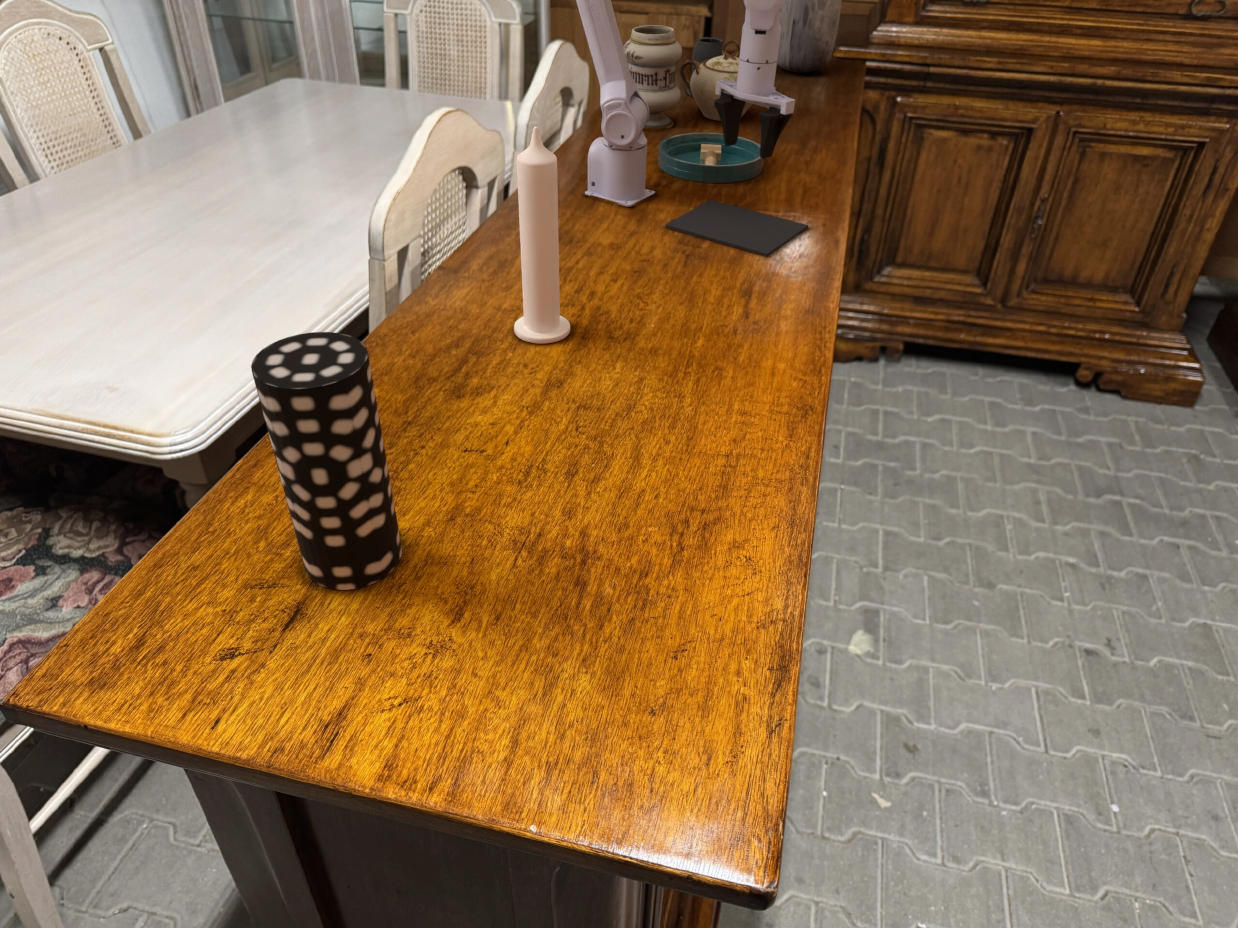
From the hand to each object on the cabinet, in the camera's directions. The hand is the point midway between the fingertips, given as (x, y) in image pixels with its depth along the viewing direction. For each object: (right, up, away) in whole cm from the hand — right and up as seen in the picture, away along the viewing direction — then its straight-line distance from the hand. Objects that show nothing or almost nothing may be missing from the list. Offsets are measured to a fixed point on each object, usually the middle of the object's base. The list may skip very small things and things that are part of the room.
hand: (747, 150), depth 140 cm
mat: (-2, -13, -1) cm, 13 cm away
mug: (0, +37, +64) cm, 74 cm away
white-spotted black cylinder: (-44, -59, -63) cm, 97 cm away
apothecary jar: (-14, +21, +43) cm, 49 cm away
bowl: (-4, +4, +21) cm, 22 cm away
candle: (-30, -34, -30) cm, 54 cm away
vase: (+25, +49, +82) cm, 98 cm away
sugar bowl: (+2, +25, +48) cm, 54 cm away
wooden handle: (-4, +5, +21) cm, 22 cm away
